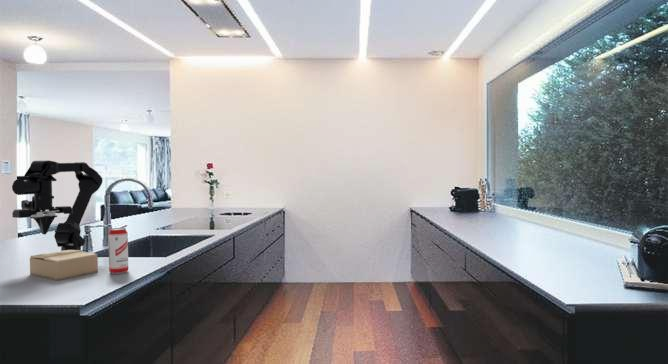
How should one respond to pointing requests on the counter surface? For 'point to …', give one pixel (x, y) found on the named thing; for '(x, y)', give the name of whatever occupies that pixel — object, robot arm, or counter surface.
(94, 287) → the counter surface
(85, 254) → the flap
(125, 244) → the beer can
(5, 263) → the counter surface
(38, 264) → the cardboard box
